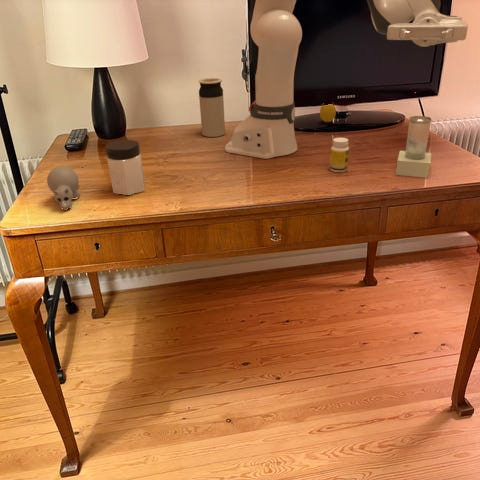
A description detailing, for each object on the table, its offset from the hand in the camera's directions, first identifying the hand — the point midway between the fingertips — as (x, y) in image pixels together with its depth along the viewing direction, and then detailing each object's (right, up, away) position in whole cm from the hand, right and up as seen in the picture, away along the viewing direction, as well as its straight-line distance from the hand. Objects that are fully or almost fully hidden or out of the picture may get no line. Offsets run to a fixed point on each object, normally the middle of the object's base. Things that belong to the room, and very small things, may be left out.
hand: (425, 35), depth 119 cm
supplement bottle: (-21, -34, +7) cm, 41 cm away
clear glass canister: (-2, -31, +2) cm, 31 cm away
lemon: (-17, -11, +46) cm, 50 cm away
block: (-2, -35, +4) cm, 35 cm away
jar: (-77, -40, 0) cm, 87 cm away
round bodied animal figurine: (-91, -44, -5) cm, 101 cm away
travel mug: (-57, -17, +40) cm, 72 cm away
